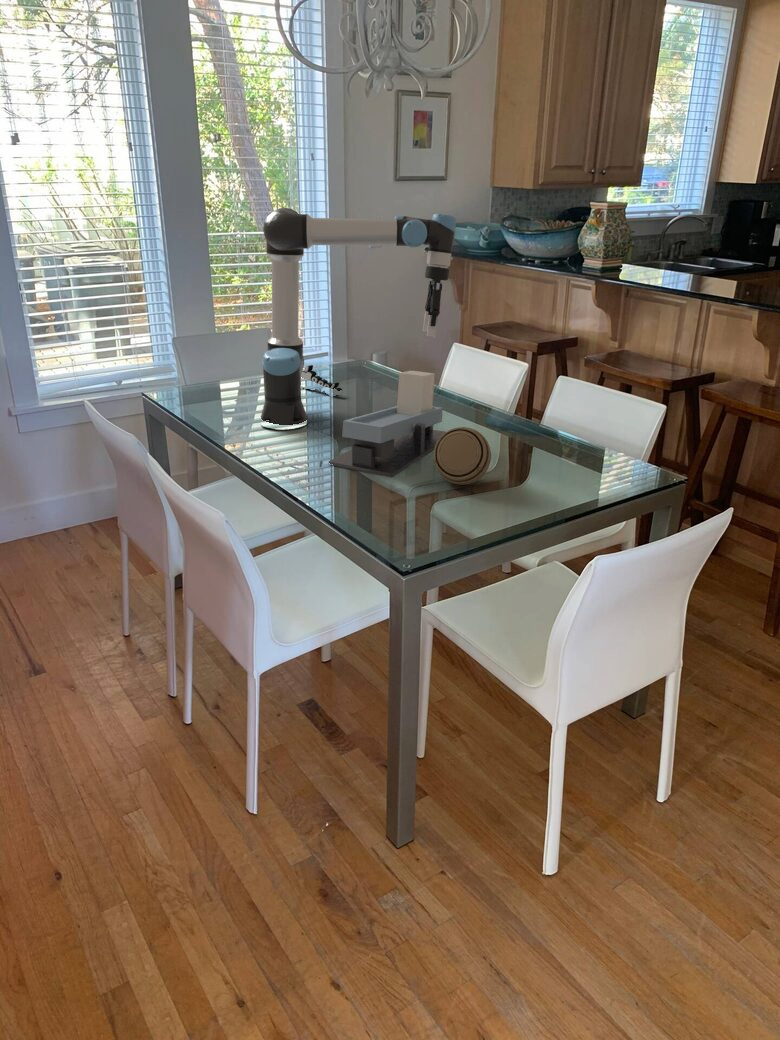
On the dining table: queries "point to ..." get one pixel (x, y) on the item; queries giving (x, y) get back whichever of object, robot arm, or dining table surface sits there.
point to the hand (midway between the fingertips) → (428, 334)
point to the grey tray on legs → (386, 427)
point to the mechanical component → (462, 455)
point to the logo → (318, 378)
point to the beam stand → (404, 454)
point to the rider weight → (415, 392)
